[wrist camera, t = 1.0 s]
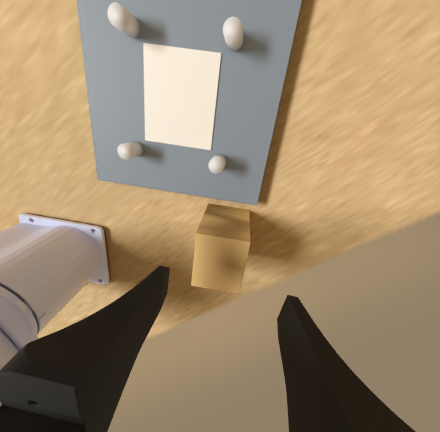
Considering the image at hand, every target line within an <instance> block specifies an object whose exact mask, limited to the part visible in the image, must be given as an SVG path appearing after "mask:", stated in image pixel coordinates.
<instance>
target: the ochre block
mask: <svg viewBox="0 0 440 432" xmlns="http://www.w3.org/2000/svg"><path fill="white" fill-rule="evenodd" d="M250 243H251V239H250V216H249V210H245V209H239V208H233V207H226V206H220V205H214V204H208V206H207V209H206V211H205V213H204V216H203V218H202V220H201V223H200V225H199V227H198V230H197V232H196V238H195V249H194V259H193V270H192V281H191V286H196V287H202V288H208V289H213V290H219V291H224V292H230V293H236V294H239V292H240V288H241V283H242V279H243V274H244V270H245V265H246V261H247V256H248V252H249V248H250Z"/></svg>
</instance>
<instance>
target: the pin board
mask: <svg viewBox="0 0 440 432" xmlns="http://www.w3.org/2000/svg"><path fill="white" fill-rule="evenodd" d="M301 2H302V0H77V7H78V16H79V24H80V33H81V41H82V50H83V58H84V67H85V76H86V84H87V93H88V101H89V110H90V118H91V127H92V135H93V144H94V153H95V161H96V170H97V178H98V180H102V181H108V182H114V183H120V184H126V185H133V186H139V187H145V188H151V189H157V190H164V191H170V192H176V193H182V194H189V195H195V196H201V197H207V198H213V199H220V200H226V201H232V202H238V203H244V204H251V205H257V203H258V198H259V194H260V189H261V185H262V180H263V176H264V171H265V166H266V162H267V157H268V153H269V148H270V144H271V139H272V135H273V130H274V125H275V121H276V116H277V112H278V107H279V103H280V98H281V93H282V89H283V84H284V80H285V75H286V71H287V66H288V62H289V57H290V52H291V48H292V43H293V39H294V34H295V30H296V25H297V20H298V16H299V11H300V7H301Z"/></svg>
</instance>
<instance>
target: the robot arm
mask: <svg viewBox="0 0 440 432" xmlns="http://www.w3.org/2000/svg"><path fill="white" fill-rule="evenodd" d="M19 220H20V223H19V224H16V225H14V226H12V227H10V228H8V229H6V230H3V231H1V232H0V432H107V431H108V428H109V426H110V423H111V420H112V418H113V415H114V412H115V410H116V407H117V405H118V402H119V399H120V397H121V394H122V391H123V389H124V387H125V384H126V382H127V379H128V377H129V374H130V372H131V370H132V367H133V365H134V362H135V360H136V358H137V355H138V353H139V351H140V348H141V346H142V344H143V342H144V341H145V339H146V337H147V335H148V333H149V331H150V329H151V327H152V325H153V323H154V321H155V319H156V318H157V316H158V314H159V312H160V310H161V307H162V305H163V302H164V300H165V297H166V295H167V289H168V279H169V270H170V268H168V267H163V266H159V267H157V268H156V269H155V270H154V271H153V272H152V273H151V274H149V275H148V276H147V277H146V278H145V279H144V280H142V281H141V282H140V283H139V284H137V285H136V286H135V287H134V288H132V289H131V290H130V291H128V292H127V293H125V294H124V295H123V296H121V297H120V298H118V299H117V300H115V301H114V302H112V303H111V304H109V305H108V306H106V307H104V308H103V309H101V310H99V311H97V312H96V313H94V314H92V315H90V316H89V317H87V318H85V319H83V320H81V321H79V322H77V323H74V324H72V325H70V326H68V327H66V328H64V329H62V330H59V331H57V332H55V333H52V334H50V335H47V336H45V337H42V338H39V339H38V336H37V334H38V333H39V332H40V331H41V330H42V329H43V328H44V327H45V326H46V325H47V324H48V323H49V322H50V321H51V320H52V319H53V318H54V317H55V316H56V315H57V314H58V313H59V312H60V311H61V310H62V309H63V307H64V306H65V305H66V304H67V303H68V302H69V301H70V300H71V299H72V298H73V297H74V296H75V295H76V294H77V293H78V292H79V291H80V290H81V289H82V288H83V287H84V286H85V285H86V284H87V283H88V282H94V283H99V284H104V285H106V284H108V283H109V281H110V279H109V271H108V262H107V254H106V245H105V236H104V230H103V228H102V227H100V226H96V225H90V224H84V223H78V222H72V221H67V220H61V219H55V218H49V217H43V216H37V215H31V214H26V213H23V214H20V215H19ZM93 229H94V230H95V231H94V230H93ZM277 322H278V339H279V345H280V352H281V357H282V364H283V370H284V376H285V383H286V392H287V405H288V420H289V432H415V431H414V430H413V429H412V428H410V427H409V426H408V425H407V424H406V423H404V421H403V420H401V419H400V418H399V417H398V416H397V415H396V414H395V413H394V412H392V411H391V410H390V409H389V408H388V407H387V406H386V405H385V404H384V403H383V402H382V401H381V400H380V399H379V398H378V397H377V396H376V395H375V394H374V393H373V392H372V391H370V389H369V388H368V387H367V386H366V385H365V384H364V383H363V382H362V381H361V380H360V379H359V378H358V377H357V376H356V375H355V374H354V373H353V371H352V370H351V369H350V368H349V367H348V366H347V365H346V363H344V361H343V360H342V359H341V358H340V356H339V355H338V354H337V353H336V351H335V350H334V349H333V348H332V346H331V345H330V344H329V342H328V341H327V340H326V338H325V337H324V336H323V334H322V333H321V331H320V330H319V329H318V327H317V326H316V324H315V323H314V321H313V320H312V318H311V317H310V315H309V314H308V312H307V311H306V309H305V307H304V306H303V305H302V303H301V301H300V300H299V298H298V297H294V296H290V295H287V298H286V300H285V302H284V305H283V307H282V309H281V312H280V314H279V316H278V318H277Z"/></svg>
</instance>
